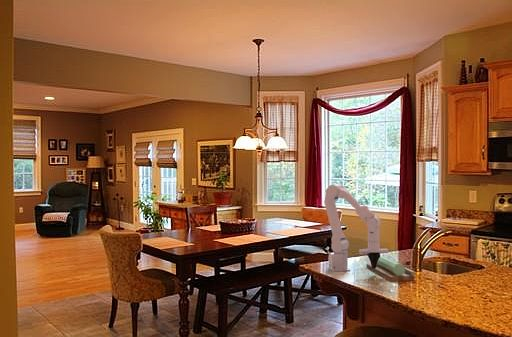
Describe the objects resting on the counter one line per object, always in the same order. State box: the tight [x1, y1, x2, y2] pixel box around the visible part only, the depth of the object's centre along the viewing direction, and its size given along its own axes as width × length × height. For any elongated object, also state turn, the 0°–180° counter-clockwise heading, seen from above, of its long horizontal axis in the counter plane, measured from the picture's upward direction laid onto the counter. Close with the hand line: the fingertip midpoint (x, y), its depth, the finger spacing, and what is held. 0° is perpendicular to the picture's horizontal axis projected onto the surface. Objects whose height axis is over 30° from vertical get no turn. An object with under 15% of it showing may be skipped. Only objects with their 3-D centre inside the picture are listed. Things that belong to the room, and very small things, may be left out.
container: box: [377, 255, 405, 276], centre depth 223 cm, size 6×6×25 cm
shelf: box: [366, 263, 415, 282], centre depth 223 cm, size 12×28×4 cm, turn 9°
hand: (373, 268), depth 222 cm, fingers closed
